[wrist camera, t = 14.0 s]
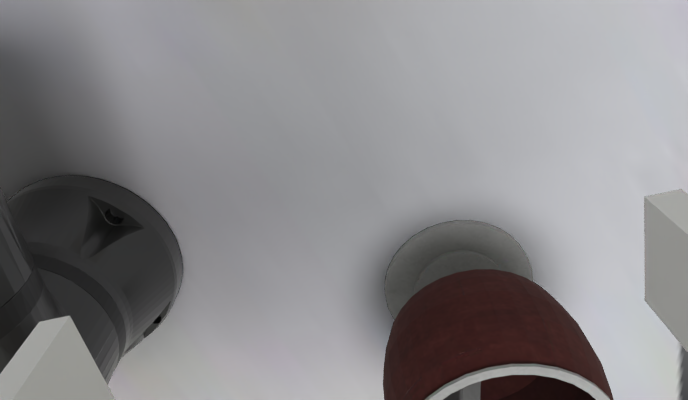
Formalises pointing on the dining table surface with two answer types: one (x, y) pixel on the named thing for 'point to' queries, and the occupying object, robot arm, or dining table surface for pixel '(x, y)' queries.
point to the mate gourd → (480, 324)
